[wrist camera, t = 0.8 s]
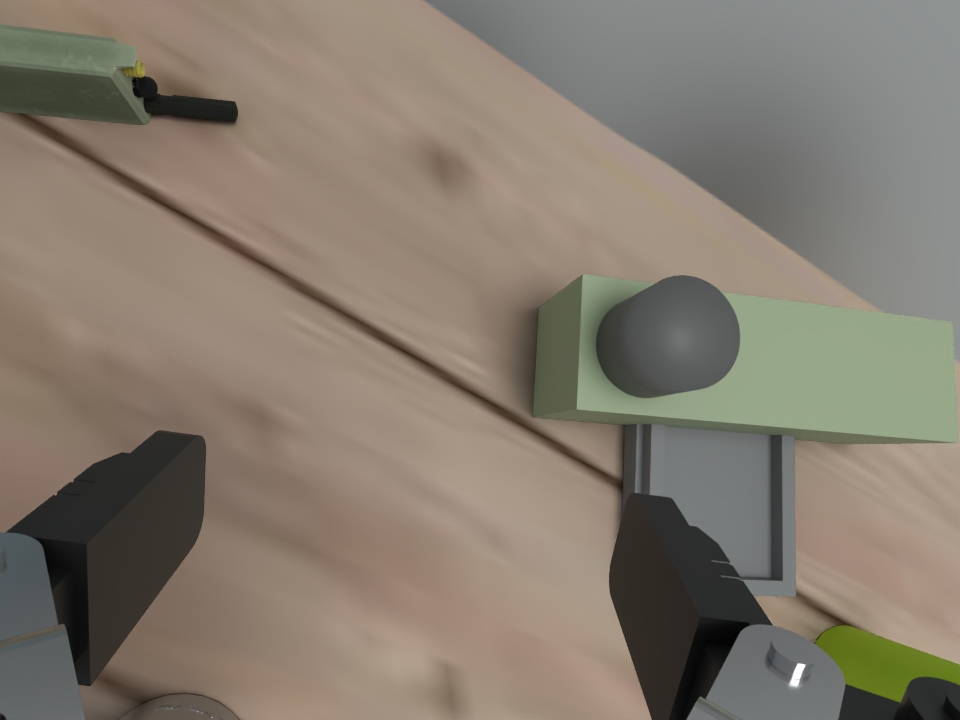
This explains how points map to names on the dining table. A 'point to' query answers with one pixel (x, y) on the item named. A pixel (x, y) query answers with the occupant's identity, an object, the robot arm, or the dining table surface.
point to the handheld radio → (87, 80)
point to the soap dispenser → (881, 662)
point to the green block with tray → (737, 397)
